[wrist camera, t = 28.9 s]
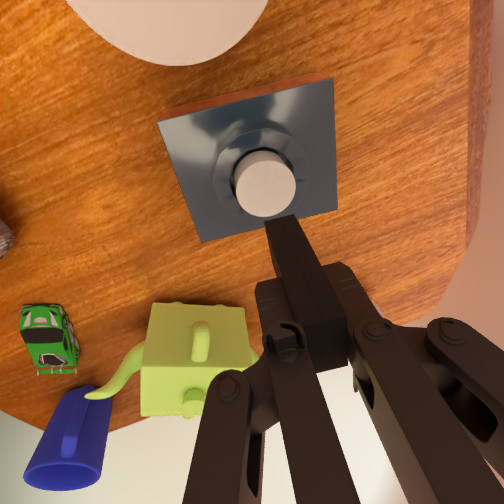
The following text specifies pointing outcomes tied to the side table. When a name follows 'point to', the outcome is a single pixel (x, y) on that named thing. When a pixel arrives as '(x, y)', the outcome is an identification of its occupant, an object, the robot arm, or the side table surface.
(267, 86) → the push button box
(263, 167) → the button
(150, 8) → the doodled pink cylinder
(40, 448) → the mug
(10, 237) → the decorative stone
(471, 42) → the side table surface
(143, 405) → the teapot
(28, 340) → the toy car
